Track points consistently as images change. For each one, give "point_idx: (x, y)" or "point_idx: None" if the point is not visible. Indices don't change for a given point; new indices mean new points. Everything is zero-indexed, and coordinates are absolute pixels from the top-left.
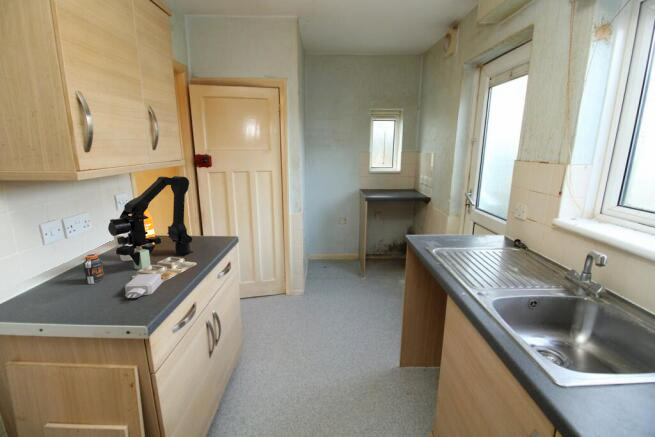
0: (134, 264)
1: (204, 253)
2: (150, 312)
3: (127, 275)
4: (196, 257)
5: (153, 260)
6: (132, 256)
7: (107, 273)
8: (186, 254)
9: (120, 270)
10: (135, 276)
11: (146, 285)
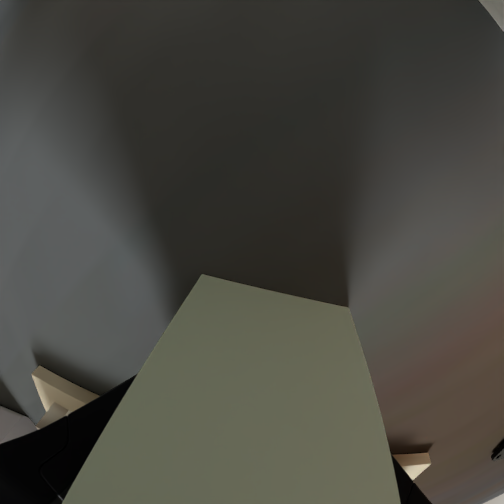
0: (178, 319)
1: (483, 487)
2: None
3: (49, 305)
4: (438, 500)
5: (493, 322)
6: (36, 466)
7: (47, 51)
8: (501, 456)
9: (123, 110)
10: (45, 395)
11: None
